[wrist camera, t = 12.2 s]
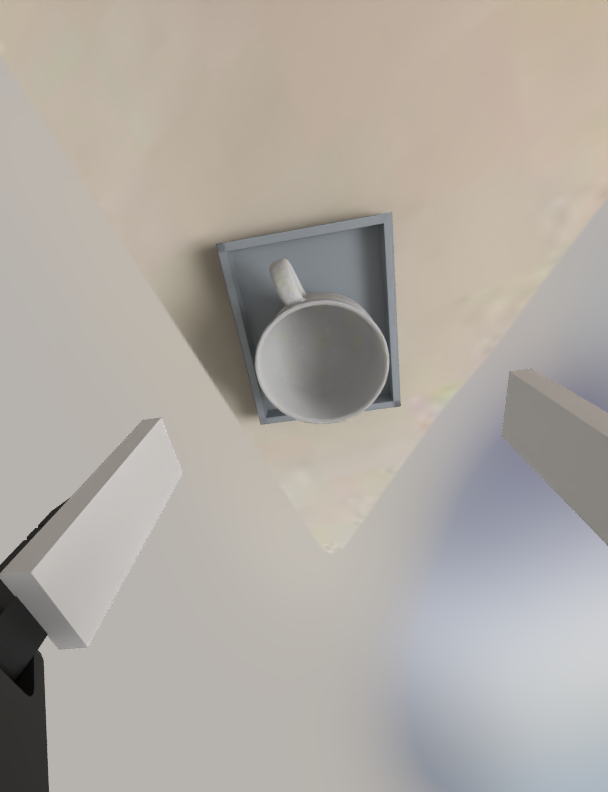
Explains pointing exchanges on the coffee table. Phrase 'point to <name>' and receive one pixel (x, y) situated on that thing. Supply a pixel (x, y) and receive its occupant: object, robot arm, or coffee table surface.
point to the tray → (315, 286)
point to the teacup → (319, 353)
